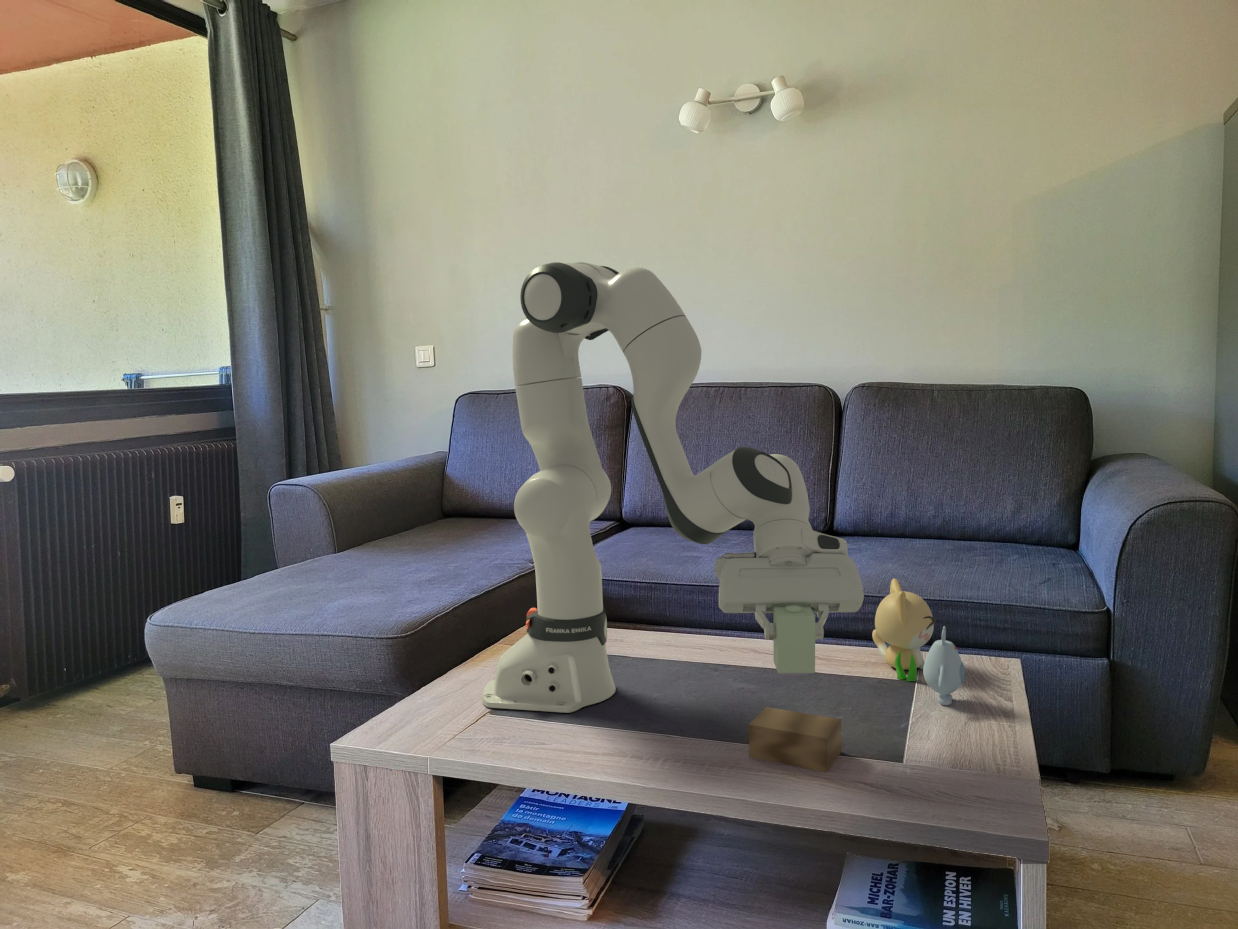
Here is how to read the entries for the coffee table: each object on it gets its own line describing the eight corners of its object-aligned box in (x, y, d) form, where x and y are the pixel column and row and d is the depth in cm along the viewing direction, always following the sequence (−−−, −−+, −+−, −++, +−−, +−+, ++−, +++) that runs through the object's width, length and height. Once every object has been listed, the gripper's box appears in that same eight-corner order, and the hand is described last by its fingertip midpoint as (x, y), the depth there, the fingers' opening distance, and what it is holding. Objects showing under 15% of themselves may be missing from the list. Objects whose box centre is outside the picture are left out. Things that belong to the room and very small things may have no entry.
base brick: (749, 759, 123) (748, 724, 123) (766, 740, 129) (766, 707, 129) (827, 774, 118) (826, 738, 117) (841, 753, 124) (841, 719, 123)
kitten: (942, 683, 148) (942, 596, 147) (880, 682, 150) (880, 596, 149) (927, 655, 163) (927, 575, 161) (871, 654, 165) (870, 575, 163)
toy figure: (963, 716, 135) (963, 639, 133) (920, 711, 137) (920, 636, 136) (966, 692, 144) (966, 620, 143) (926, 688, 147) (926, 617, 145)
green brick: (777, 673, 120) (777, 612, 119) (773, 661, 125) (773, 602, 124) (815, 673, 120) (815, 612, 119) (809, 661, 125) (809, 602, 124)
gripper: (714, 541, 128) (719, 626, 119) (857, 539, 127) (872, 625, 118) (713, 564, 133) (717, 648, 124) (851, 563, 132) (865, 647, 123)
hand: (794, 637), depth 121 cm, fingers closed on green brick, 5 cm apart
